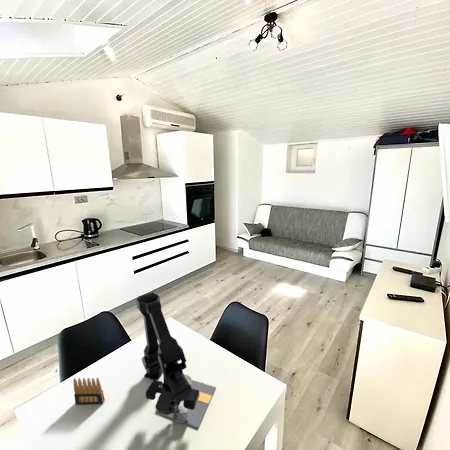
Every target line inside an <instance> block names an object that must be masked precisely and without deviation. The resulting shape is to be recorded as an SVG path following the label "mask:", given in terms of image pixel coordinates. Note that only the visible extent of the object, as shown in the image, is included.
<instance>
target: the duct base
mask: <svg viewBox="0 0 450 450" xmlns="http://www.w3.org/2000/svg"><path fill="white" fill-rule="evenodd" d="M191 380H192V386H191V387H192V389H197V390H199V398H198V401H197V404H196V407H195V409H193V410H191V409H188V417H189V421H186V422H180V423H182V424H184V425H187V426H188V427H189V426H190V427H193V428H195V429H197V430H199V429H200V426H201V424H202V421H203V419H204V416H205V415H206V412H207V410H208V407H209V405H210V403H211V401H212V399H213V397H214V394H215V391H216V389H217V388H216V386H213V385H210V384H207V383H203V382H201V381H200V382H199V381H198V380H194V379H191ZM177 411H178V407H177V409H176V412H174V413H172V414H169V415H165V414H161V413H158V412H157V410H156V409H155V413H156V414H159V415H161V416H164V417H165V418H169V419H171V420H174V421H176V422H177Z"/></svg>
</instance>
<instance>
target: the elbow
mask: <svg viewBox="0 0 450 450" xmlns="http://www.w3.org/2000/svg"><path fill="white" fill-rule="evenodd" d="M184 375H185V377H186V379H187V380H188V382H189V384H190V386H192V380H193V379H192V378H191V376H190V375H189V374H184ZM183 403H184V401H181V403H180V405H179V406H178V411H177V421H176V423H177V424H180V423H181V422H186V421H189V417H188V409H187V408H185V407H184V406H183Z"/></svg>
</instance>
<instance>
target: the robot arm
mask: <svg viewBox="0 0 450 450" xmlns="http://www.w3.org/2000/svg"><path fill="white" fill-rule="evenodd" d="M160 298H161V297H160V295H159V294H157V293H155V292H154V291H151V292H148V293H144V294H141V295H138V297H137V298H136V299H135V304H136V307H137V309H138V310H139V312H140V314H141V315H142V316H143V323H144V330H145V331H144V332H145V339H146V345H145V348H144V350H143V356H142V357H141V362H142V365H143V367H144V370H145V372H146V373H145V374H144V378H145V379H149V380H152V381H150V384H149V385H148V387H147V389H146V390H145V398H146V399H147V400H152V401H154V400H155V399H156V395H157V394H159V396H158V398H157V401H156V404H155V407H154V408H155V411H156V410H157V412H158V413H161V414H165V415H169V414H172V413H174V412H176V409H177V407H178V406H179V405H180V403H181V401H184V403H183V406H184V407H185V408H187V409H191V410H193V409H195V407H196V404H197V401H198V398H199V390H197V389H192V387H191V386H190V384H189V382H188V380H187V379H186V377H185V375H186V374H185V373H184V371H183V370H185V369H187V368H188V367H187V363H186V362H187V358H186V356H185V353H184V349H183V347H181V346H180V345H179V343H178V341H177V339H176V338H174V337H173V336H172V335H171V333H170V330H169V327H168V325H167V322H166V319H165V317H164V314H163V311H162V304H161V299H160ZM179 361H181V362H179ZM161 375H163V381H161V380H158V379H159V378H160V377H161ZM158 413H157V414H158ZM161 414H160V415H161Z"/></svg>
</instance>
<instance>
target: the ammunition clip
mask: <svg viewBox="0 0 450 450" xmlns="http://www.w3.org/2000/svg"><path fill="white" fill-rule="evenodd" d="M95 380H96V381H95ZM73 390H74V394H73V395H74V401H75V403H74V404H75V405H76V406H80V405H81V406H85V405H87V406H89V405H91V406H93V405H103V404H104V402H105V396H104V395H105V394H104V390H103V389H102V385H101V382H100V378H99V377H96V379H95V378H94V377H92V378H91V379H90V377H87V379H86V378H85V377H83V379H81V378H80V377H78V379H76V378H75V377H74V378H73Z"/></svg>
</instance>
